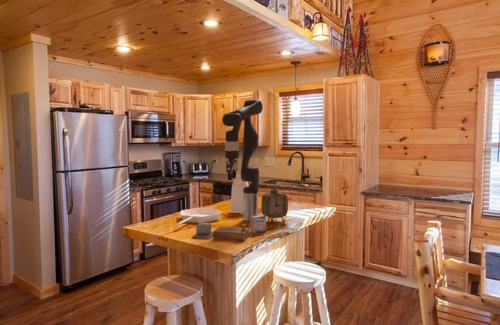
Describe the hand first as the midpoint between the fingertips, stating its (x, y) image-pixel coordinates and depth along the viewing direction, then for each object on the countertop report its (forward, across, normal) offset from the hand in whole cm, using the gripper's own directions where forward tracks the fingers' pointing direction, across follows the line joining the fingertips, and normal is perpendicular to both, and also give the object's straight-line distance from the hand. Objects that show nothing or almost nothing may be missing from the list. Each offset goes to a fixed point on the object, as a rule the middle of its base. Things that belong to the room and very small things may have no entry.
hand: (231, 179), depth 185 cm
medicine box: (+28, +1, +15) cm, 32 cm away
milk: (+28, -46, -7) cm, 54 cm away
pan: (+28, -13, -27) cm, 41 cm away
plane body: (+28, +15, +4) cm, 32 cm away
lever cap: (+28, +15, -11) cm, 33 cm away
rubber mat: (+28, +15, -10) cm, 34 cm away
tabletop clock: (+28, -23, +20) cm, 42 cm away
